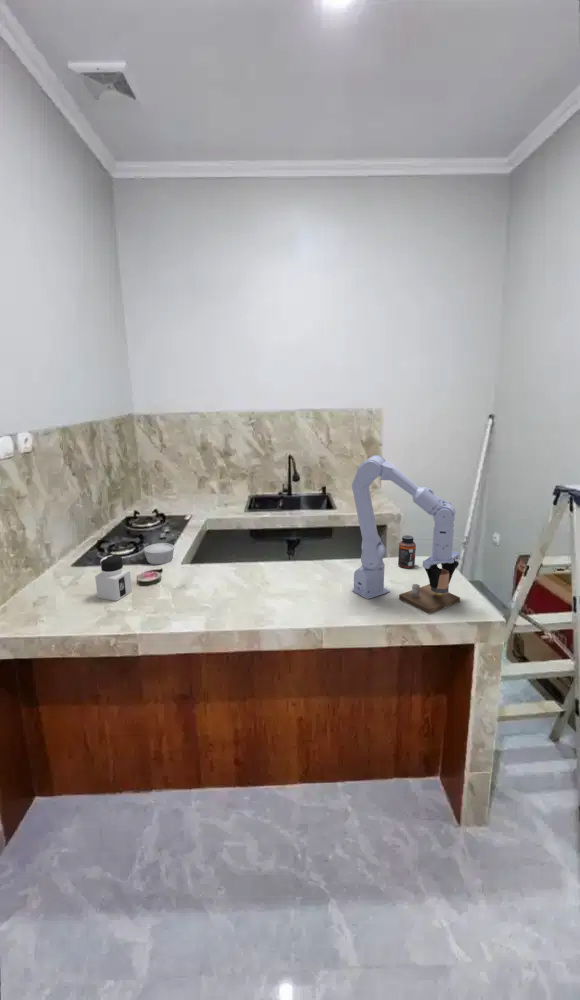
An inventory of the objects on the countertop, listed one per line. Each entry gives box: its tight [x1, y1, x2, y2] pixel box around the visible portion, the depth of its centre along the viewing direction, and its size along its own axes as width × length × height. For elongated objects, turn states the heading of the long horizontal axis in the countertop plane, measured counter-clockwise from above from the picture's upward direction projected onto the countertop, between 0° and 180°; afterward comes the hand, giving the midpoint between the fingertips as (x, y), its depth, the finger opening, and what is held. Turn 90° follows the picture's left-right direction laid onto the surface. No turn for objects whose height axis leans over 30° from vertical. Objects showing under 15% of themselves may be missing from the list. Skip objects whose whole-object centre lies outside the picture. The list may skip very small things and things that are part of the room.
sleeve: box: [431, 568, 450, 593], centre depth 145 cm, size 5×5×6 cm
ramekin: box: [143, 542, 175, 565], centre depth 183 cm, size 11×11×5 cm
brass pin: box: [435, 592, 443, 598], centre depth 146 cm, size 2×2×5 cm
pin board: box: [398, 583, 461, 615], centre depth 147 cm, size 14×12×5 cm
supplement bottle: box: [397, 534, 417, 569], centre depth 173 cm, size 6×6×11 cm
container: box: [95, 554, 133, 602], centre depth 152 cm, size 8×8×13 cm
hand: (439, 584), depth 145 cm, fingers closed on sleeve, 5 cm apart
